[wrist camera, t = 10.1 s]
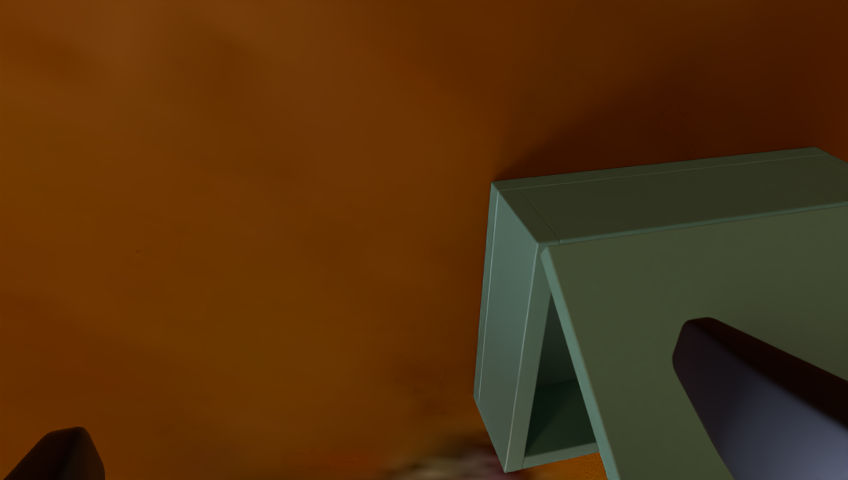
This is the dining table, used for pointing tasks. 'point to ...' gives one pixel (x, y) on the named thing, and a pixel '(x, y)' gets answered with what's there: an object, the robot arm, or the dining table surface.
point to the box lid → (684, 300)
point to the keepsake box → (595, 219)
